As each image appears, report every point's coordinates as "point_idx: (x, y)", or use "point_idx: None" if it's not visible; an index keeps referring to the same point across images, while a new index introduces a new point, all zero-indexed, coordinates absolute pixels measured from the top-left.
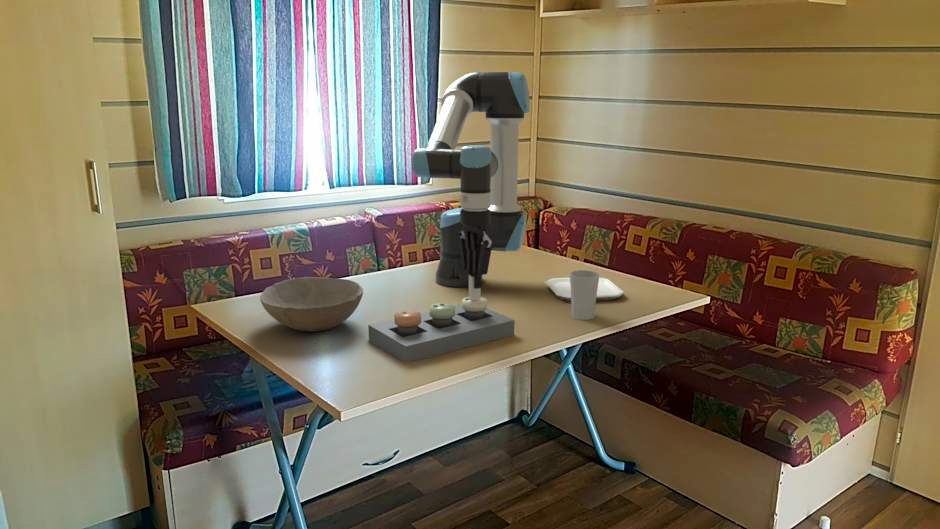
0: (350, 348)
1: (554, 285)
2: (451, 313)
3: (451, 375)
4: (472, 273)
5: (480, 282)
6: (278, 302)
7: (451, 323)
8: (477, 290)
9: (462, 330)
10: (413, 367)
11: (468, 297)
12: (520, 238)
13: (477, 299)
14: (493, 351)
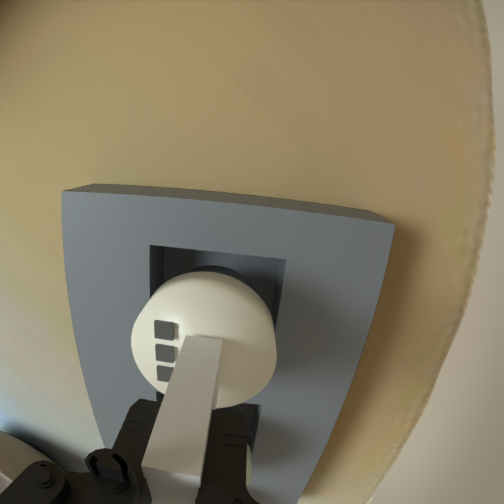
0: None
1: None
2: (251, 463)
3: (392, 463)
4: (149, 499)
5: (246, 453)
6: (3, 483)
7: None
8: (214, 398)
9: (315, 431)
10: (313, 489)
11: (138, 345)
12: None
13: (220, 359)
14: (401, 357)
